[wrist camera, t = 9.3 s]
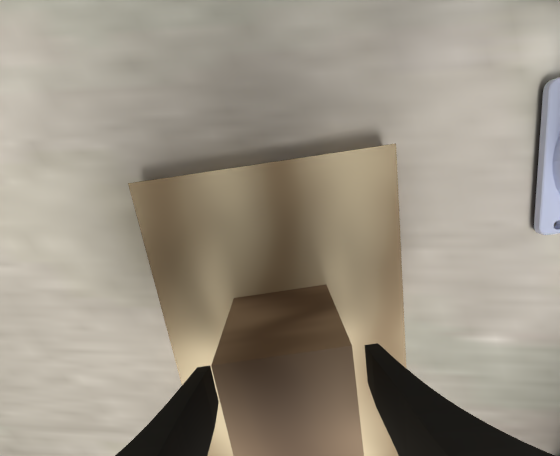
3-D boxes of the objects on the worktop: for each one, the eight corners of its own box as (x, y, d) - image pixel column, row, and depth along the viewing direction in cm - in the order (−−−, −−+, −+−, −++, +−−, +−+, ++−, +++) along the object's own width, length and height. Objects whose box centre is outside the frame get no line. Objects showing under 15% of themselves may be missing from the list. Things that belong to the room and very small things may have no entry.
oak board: (383, 146, 14) (395, 143, 13) (399, 432, 18) (410, 455, 17) (143, 181, 14) (128, 183, 13) (212, 455, 18) (207, 480, 17)
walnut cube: (326, 284, 14) (351, 345, 9) (336, 364, 15) (364, 456, 10) (233, 297, 14) (211, 365, 9) (250, 376, 15) (237, 473, 10)
